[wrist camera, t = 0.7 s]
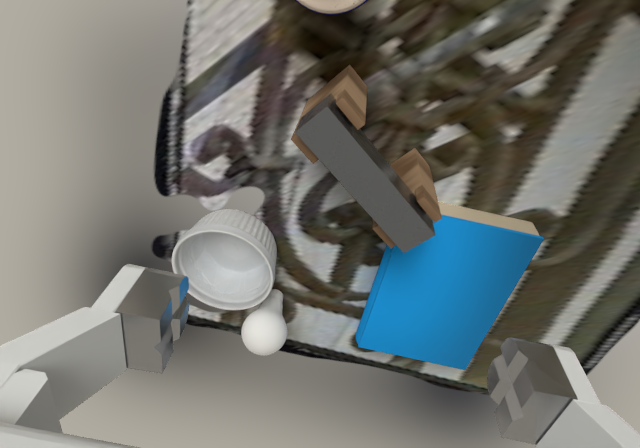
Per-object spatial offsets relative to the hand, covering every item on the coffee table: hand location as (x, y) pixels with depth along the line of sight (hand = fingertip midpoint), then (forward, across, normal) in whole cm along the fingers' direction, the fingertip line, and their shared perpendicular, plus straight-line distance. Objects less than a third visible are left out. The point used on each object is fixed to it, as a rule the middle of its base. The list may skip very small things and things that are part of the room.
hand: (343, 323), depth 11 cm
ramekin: (+40, +11, +28) cm, 51 cm away
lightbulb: (+40, +5, +36) cm, 55 cm away
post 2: (+40, -8, +13) cm, 42 cm away
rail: (+31, -3, +10) cm, 32 cm away
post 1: (+40, +2, +5) cm, 40 cm away
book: (+40, -17, +29) cm, 52 cm away
